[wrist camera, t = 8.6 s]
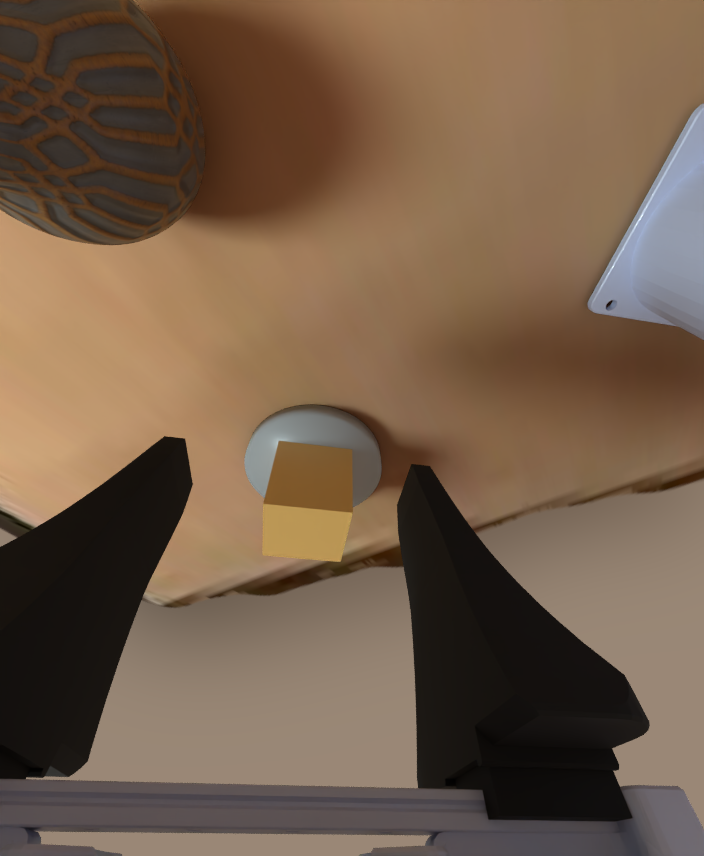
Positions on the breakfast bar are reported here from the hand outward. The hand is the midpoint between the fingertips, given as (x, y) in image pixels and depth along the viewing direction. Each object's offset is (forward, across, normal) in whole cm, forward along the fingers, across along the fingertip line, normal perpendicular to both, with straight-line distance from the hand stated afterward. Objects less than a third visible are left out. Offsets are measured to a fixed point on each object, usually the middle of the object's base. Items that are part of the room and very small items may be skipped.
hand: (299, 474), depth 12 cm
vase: (+10, +8, -8) cm, 15 cm away
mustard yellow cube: (+9, 0, +8) cm, 12 cm away
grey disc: (+10, 0, +8) cm, 13 cm away
